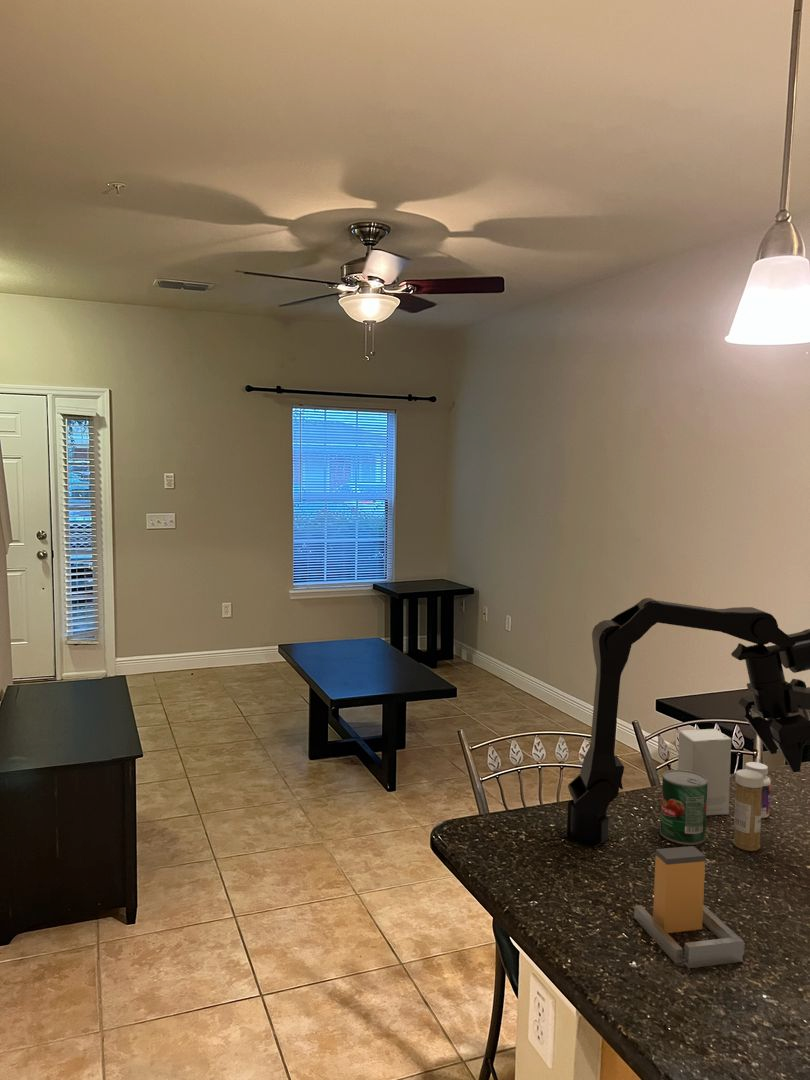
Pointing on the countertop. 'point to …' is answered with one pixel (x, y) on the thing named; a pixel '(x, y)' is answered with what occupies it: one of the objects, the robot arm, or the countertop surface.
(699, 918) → the tan tall block
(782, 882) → the countertop surface
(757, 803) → the sprinkles bottle
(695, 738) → the skincare box
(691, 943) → the gray rectangular tray
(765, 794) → the pill bottle
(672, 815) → the canned tomato
